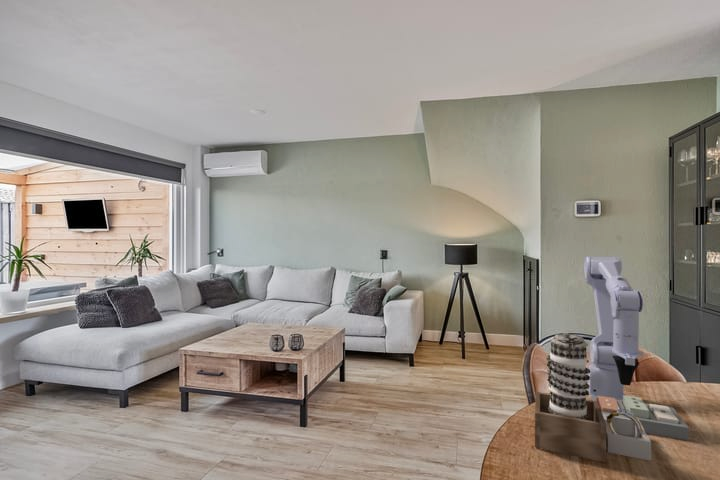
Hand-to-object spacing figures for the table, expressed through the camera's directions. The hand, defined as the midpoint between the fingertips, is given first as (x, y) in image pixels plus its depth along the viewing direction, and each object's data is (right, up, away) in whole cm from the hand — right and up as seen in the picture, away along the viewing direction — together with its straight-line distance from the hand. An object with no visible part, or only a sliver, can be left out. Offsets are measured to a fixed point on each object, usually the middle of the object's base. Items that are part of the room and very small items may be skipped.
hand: (625, 384), depth 108 cm
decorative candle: (-23, -9, -14) cm, 28 cm away
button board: (0, -9, -3) cm, 9 cm away
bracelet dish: (-10, -9, -15) cm, 20 cm away
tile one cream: (+6, -8, -6) cm, 11 cm away
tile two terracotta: (-5, -8, -1) cm, 9 cm away
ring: (-10, -9, -15) cm, 20 cm away
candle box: (-23, -8, -14) cm, 28 cm away
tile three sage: (0, -7, -3) cm, 7 cm away
